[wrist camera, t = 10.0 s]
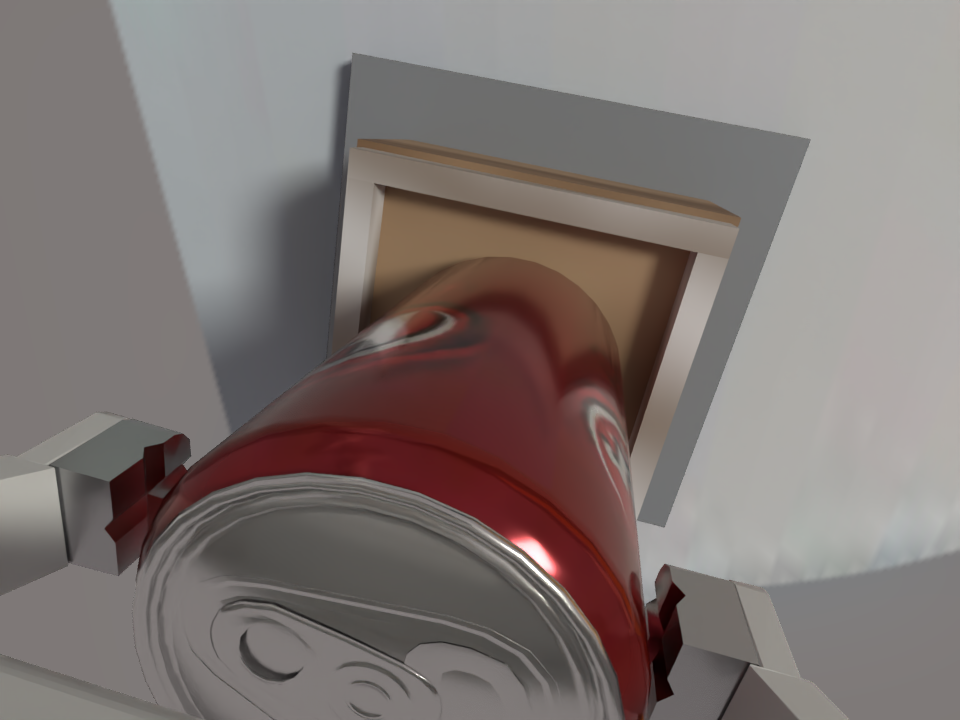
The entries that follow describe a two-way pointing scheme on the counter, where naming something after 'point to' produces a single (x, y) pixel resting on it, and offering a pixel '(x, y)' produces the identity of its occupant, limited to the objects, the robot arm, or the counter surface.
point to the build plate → (606, 155)
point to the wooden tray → (542, 257)
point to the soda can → (415, 526)
